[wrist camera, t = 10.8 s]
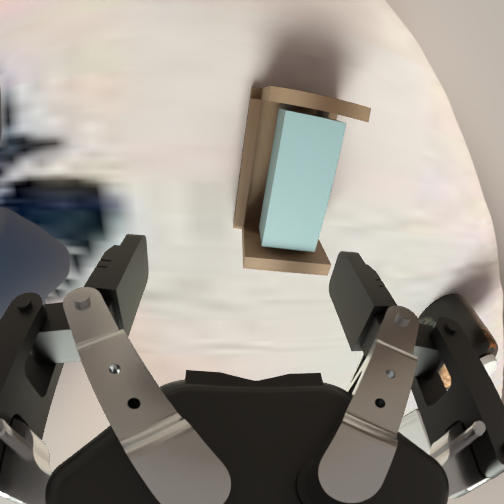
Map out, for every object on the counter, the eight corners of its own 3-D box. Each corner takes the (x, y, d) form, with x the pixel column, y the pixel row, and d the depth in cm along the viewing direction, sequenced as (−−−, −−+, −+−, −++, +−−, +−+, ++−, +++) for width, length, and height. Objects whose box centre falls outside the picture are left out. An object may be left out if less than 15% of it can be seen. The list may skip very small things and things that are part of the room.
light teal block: (258, 226, 30) (261, 246, 27) (279, 108, 24) (285, 110, 21) (306, 232, 31) (314, 252, 27) (331, 118, 25) (346, 123, 21)
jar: (453, 281, 41) (501, 342, 28) (470, 309, 45) (508, 363, 32) (404, 326, 45) (439, 394, 32) (427, 347, 49) (457, 405, 36)
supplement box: (389, 424, 67) (403, 466, 54) (415, 408, 64) (431, 451, 51) (401, 427, 71) (413, 466, 58) (425, 413, 67) (440, 452, 54)
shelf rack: (233, 224, 34) (232, 267, 26) (251, 87, 26) (256, 83, 19) (308, 232, 35) (327, 275, 27) (336, 102, 27) (371, 108, 20)
